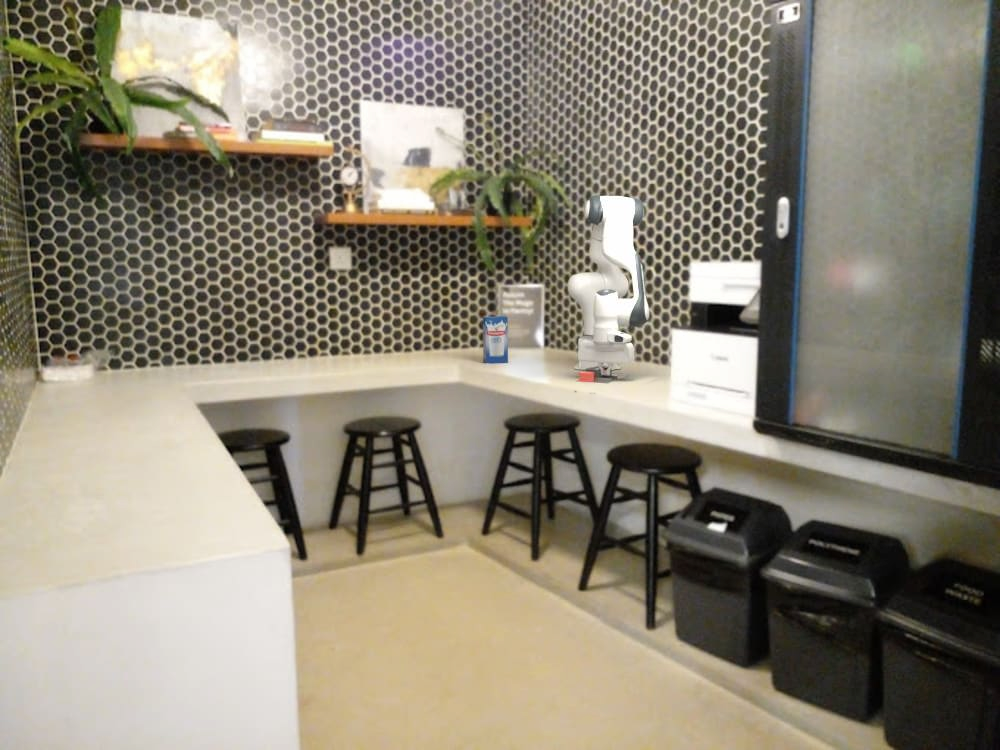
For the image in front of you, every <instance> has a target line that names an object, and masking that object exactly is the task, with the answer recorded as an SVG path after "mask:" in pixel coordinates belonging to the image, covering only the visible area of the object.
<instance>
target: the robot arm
mask: <svg viewBox="0 0 1000 750" xmlns="http://www.w3.org/2000/svg"><path fill="white" fill-rule="evenodd" d="M584 215H585V219H586V220H587V222H588V223H590V224H593V228H592V232H591V236H590V244H589V251H588V255H589V258H590V260H591V261H592V262H593V263H595V264H596V265H598V271H597V272H594V271H592V272H590V271H589V272H586V271H584V272H580V273H576V274H572V275H571V276H570V278H569V279H568V282H567V292H568V294H569V296H570V297H571V298H572V299H573V300H574V301H576V303H577V304H578V305H579V307H580V308H581V313H582V316H583V317H582V318H583V334H582V336H580V337H579V338H578V342H577V343H578V345H577V346H578V351H577V363H576V364H575V365H574V367H573V368H574V370H582V371H585V369H587V368H590V367H593V368H594V367H596V366H599V368H600V370H601V375H608V376H609V375H610V370H611V368H612V371H614V370H620V369H622V367H621V365H622V364H624V365H625V364H626V365H631V364H633V363H634V361H635V347H634V345H633V343H632V340H633V336H632V335H630V334H628V333H625V332H622V331H619V330H620V329H619V328H620V327H621V326H624V327H625V326H629V327H635V328H642V326H644V325H645V324H646V323H647V322H648V321H649V318H650V307H649V301H648V298H647V297H648V296H647V289H646V280H645V279H646V278H645V273H644V266H643V260H642V257H641V256H640V254H638V253H637V252H636V250H635V247H634V227H638V226H639V225H640V224H641V223H642V221H643V219H644V216H645V205H644V203H643V201H642V200H641V199H638V198H636V197H632V198H631V197H627V196H623V195H621V196H620V195H601V196H600V194H599V195H592V196H590V197H589V198H588V199H587V201H586V203H585V206H584ZM620 268H622V269H624V270H626V271H628V272H629V274H630V276H631V282H632V289H633V290H632V293H633V297H632V298H623V297H625V296H626V294H627V293H628V291H629V288H630V287H629V280H628V278H627V276H626V275H625V274H624V273H623V272H622V271H621V269H620ZM619 326H620V327H619ZM618 364H621V365H618ZM603 366H609V367H608V369H607V370H604V368H603Z"/></svg>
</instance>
